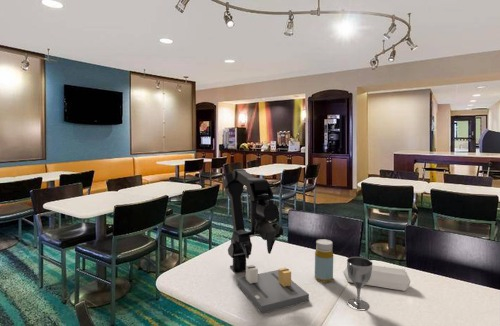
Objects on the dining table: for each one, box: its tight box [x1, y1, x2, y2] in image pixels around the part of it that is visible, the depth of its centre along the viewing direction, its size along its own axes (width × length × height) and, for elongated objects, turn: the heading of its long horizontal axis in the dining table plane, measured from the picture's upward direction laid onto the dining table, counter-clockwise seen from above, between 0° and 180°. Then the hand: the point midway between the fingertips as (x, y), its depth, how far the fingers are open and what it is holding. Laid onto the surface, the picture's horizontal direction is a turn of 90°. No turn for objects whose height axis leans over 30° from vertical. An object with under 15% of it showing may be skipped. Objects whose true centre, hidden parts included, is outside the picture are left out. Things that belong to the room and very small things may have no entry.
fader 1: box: [245, 264, 259, 284], centre depth 115 cm, size 4×3×5 cm
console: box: [236, 269, 310, 314], centre depth 112 cm, size 21×18×3 cm
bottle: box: [314, 238, 334, 283], centre depth 122 cm, size 7×7×15 cm
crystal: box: [342, 264, 411, 292], centre depth 119 cm, size 7×7×24 cm
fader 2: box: [277, 267, 292, 287], centre depth 113 cm, size 4×3×5 cm
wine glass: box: [346, 256, 374, 311], centre depth 104 cm, size 8×8×15 cm
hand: (258, 255), depth 114 cm, fingers open, 9 cm apart
